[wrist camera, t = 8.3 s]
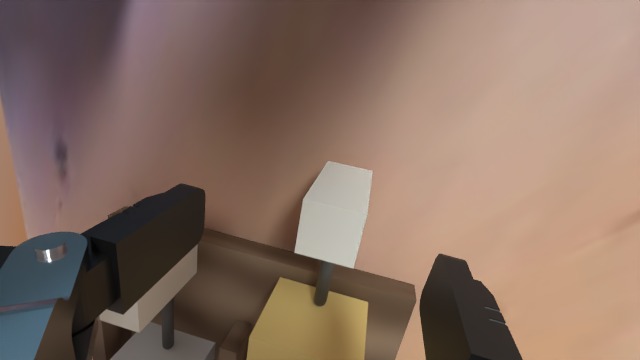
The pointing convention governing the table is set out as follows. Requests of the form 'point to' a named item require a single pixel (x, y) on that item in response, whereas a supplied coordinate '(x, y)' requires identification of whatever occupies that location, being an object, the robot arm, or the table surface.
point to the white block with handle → (162, 340)
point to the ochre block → (320, 277)
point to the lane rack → (265, 298)
